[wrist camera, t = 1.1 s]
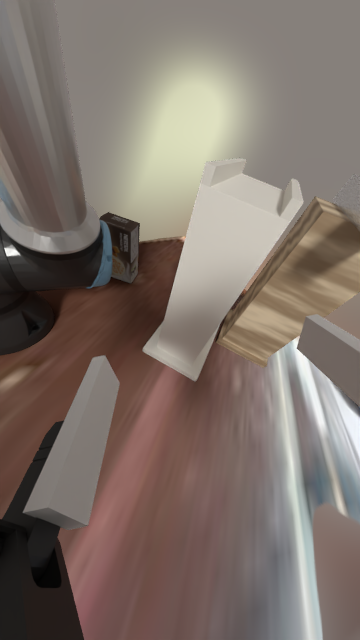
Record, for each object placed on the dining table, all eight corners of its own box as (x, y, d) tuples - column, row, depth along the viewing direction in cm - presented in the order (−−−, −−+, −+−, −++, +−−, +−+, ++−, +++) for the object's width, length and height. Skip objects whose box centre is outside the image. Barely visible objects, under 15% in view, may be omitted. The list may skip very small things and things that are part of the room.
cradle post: (195, 381, 38) (337, 221, 12) (142, 351, 40) (170, 151, 14) (219, 323, 51) (314, 185, 25) (178, 302, 53) (228, 151, 27)
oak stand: (263, 367, 45) (430, 257, 20) (215, 342, 47) (316, 210, 22) (267, 331, 54) (387, 224, 29) (228, 311, 56) (309, 193, 31)
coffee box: (138, 272, 57) (141, 223, 45) (130, 284, 53) (132, 232, 41) (112, 264, 57) (108, 211, 45) (102, 274, 53) (95, 219, 41)
